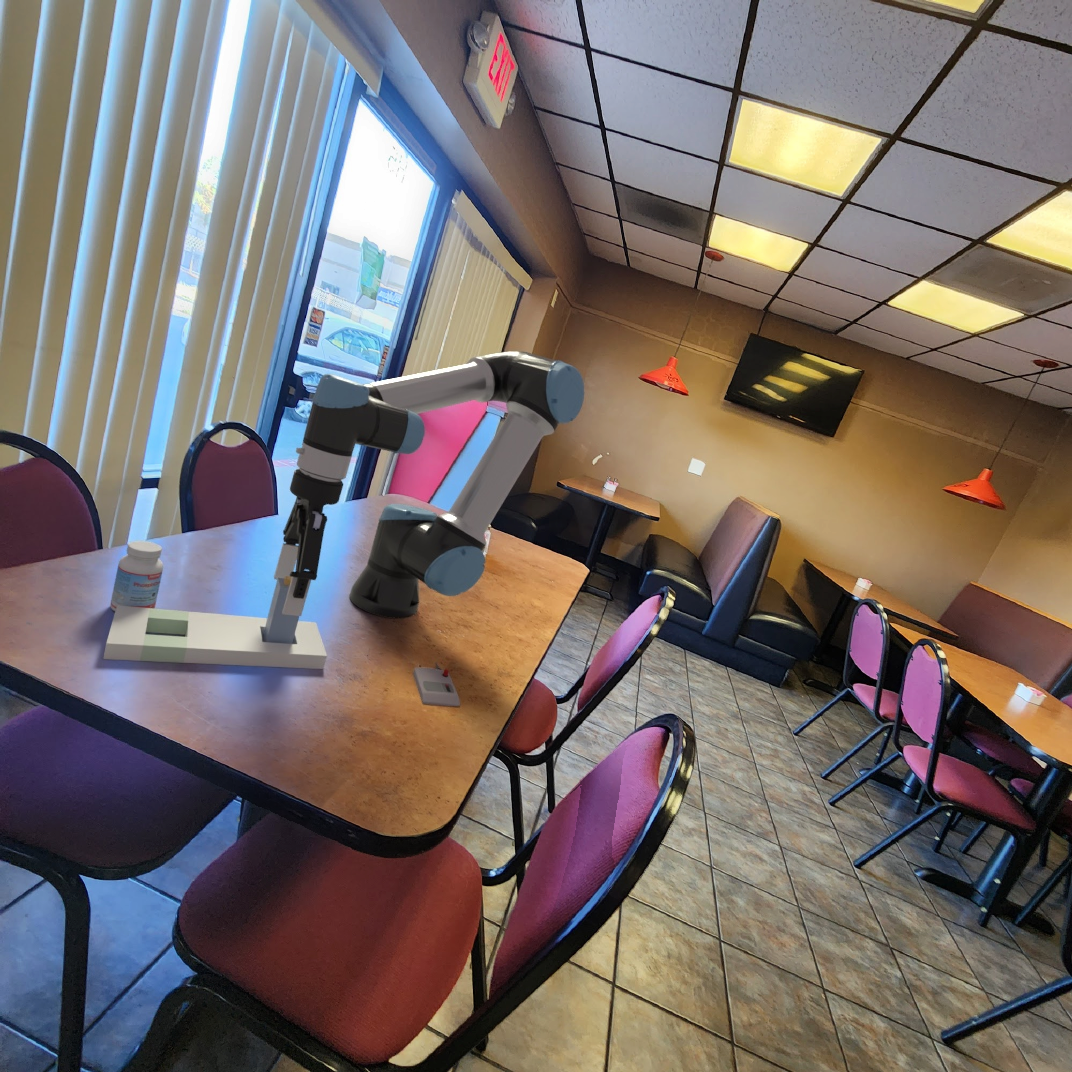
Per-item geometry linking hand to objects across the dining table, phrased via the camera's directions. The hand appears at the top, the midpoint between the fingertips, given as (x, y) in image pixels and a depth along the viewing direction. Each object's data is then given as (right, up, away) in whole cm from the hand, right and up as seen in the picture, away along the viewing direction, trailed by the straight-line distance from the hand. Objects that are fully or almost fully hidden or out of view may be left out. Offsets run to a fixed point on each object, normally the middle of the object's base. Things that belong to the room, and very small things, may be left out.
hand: (286, 596), depth 96 cm
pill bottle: (-25, -2, -1) cm, 25 cm away
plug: (-3, -9, +2) cm, 10 cm away
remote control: (+23, -18, +8) cm, 30 cm away
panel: (-10, -8, -2) cm, 12 cm away
